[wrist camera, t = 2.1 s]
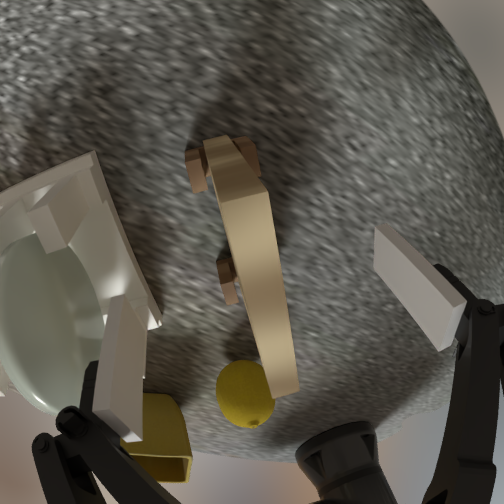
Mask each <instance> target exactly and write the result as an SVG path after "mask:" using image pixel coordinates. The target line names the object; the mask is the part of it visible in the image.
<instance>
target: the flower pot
mask: <svg viewBox="0 0 504 504" xmlns="http://www.w3.org/2000/svg"><path fill="white" fill-rule="evenodd" d="M142 429H143V441H136V442H126V441H125V440H123V439H122V438H121V437H120V445H121V446H122V447H123V448H124V449H125V450H126V451H127V452H128V453H129V454H130V455H131V456H132V457H133V458H134V459H135V460H136V461H137V462H138V463H139V464H140V465H141V466H142V467H143V468H144V469H145V470H146V471H147V472H148V473H149V474H150V475H151V476H152V477H153V478H154V479H155V480H156V481H157V482H158V483H187V482H189V477H190V470H191V465H192V460H193V456H192V452H191V447H190V443H189V438H188V433H187V428H186V424H185V420H184V417H183V414H182V412H181V410H180V408H179V407H178V405H177V404H176V402H175V401H174V400H173V399H172V398H171V396H169V395H167V394H154V393H143V402H142Z"/></svg>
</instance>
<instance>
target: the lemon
mask: <svg viewBox="0 0 504 504" xmlns="http://www.w3.org/2000/svg"><path fill="white" fill-rule="evenodd" d="M216 397H217V401H218V404H219V406H220V409H221V411H222V413H223V414H224V416H225V417H226V418H227V419H228V420H229V421H230V422H232V423H233V424H235V425H238V426H241V427H247V428H248V427H249V428H256V427H257V426H258V425H260V424H262V423H264V422H265V421H266V420H267V419H268V418H269V417H270V416H271V414H272V412H273V410H274V407H275V399H273V398H272V395H271V392H270V388H269V385H268V382H267V378H266V375H265V372H264V368H263V367H262V366H261V365H259V364H258V363H256V362H253V361H250V360H238V361H234V362H232V363H230V364H228V365H227V366H226V367H225V368H224V369H223V370H222V371H221V372H220V374H219V376H218V379H217V383H216Z"/></svg>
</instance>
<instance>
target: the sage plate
mask: <svg viewBox="0 0 504 504" xmlns="http://www.w3.org/2000/svg"><path fill="white" fill-rule="evenodd" d="M104 330H105V324H104V320H103V316H102V312H101V309H100V305H99V302H98V299H97V296H96V293H95V291H94V288H93V286H92V283H91V281H90V278H89V276H88V274H87V272H86V270H85V268H84V267H83V265H82V263H81V261H80V260H79V258H78V257H77V255H76V254H75V253H74V251H73V250H72V249H71V248H70V246H69V245H68V246H67V247H66V248H63V249H60V250H57V251H54V252H51V253H48V254H46V252H45V250H44V248H43V246H42V244H41V242H40V240H39V238H38V236H37V234H36V233H33V234H30V235H28V236H25V237H23V238H20V239H18V240H16V241H14V242H12V243H11V244H9V245H8V246H7V247H6V248H5V250H4V251H3V252H2V254H1V255H0V360H1V362H2V365H3V367H4V369H5V371H6V373H7V374H8V376H9V378H10V380H11V381H12V382H13V384H14V385H15V387H16V388H17V390H18V391H19V392H20V393H21V394H22V395H23V396H24V398H25V399H26V400H28V401H29V402H30V403H31V404H32V405H33V406H34V407H36V408H38V409H39V410H41V411H42V412H44V413H47V414H49V415H53V416H57V415H58V413H59V412H60V411H61V410H62V409H63V408H65V407H67V406H71V405H72V406H76V407H78V408H79V405H80V398H81V391H82V390H83V389H82V385H83V382H84V381H83V379H84V374H85V370H86V368H87V366H88V365H89V363H90V361H96V360H99V357H100V351H101V346H102V340H103V335H104Z"/></svg>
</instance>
